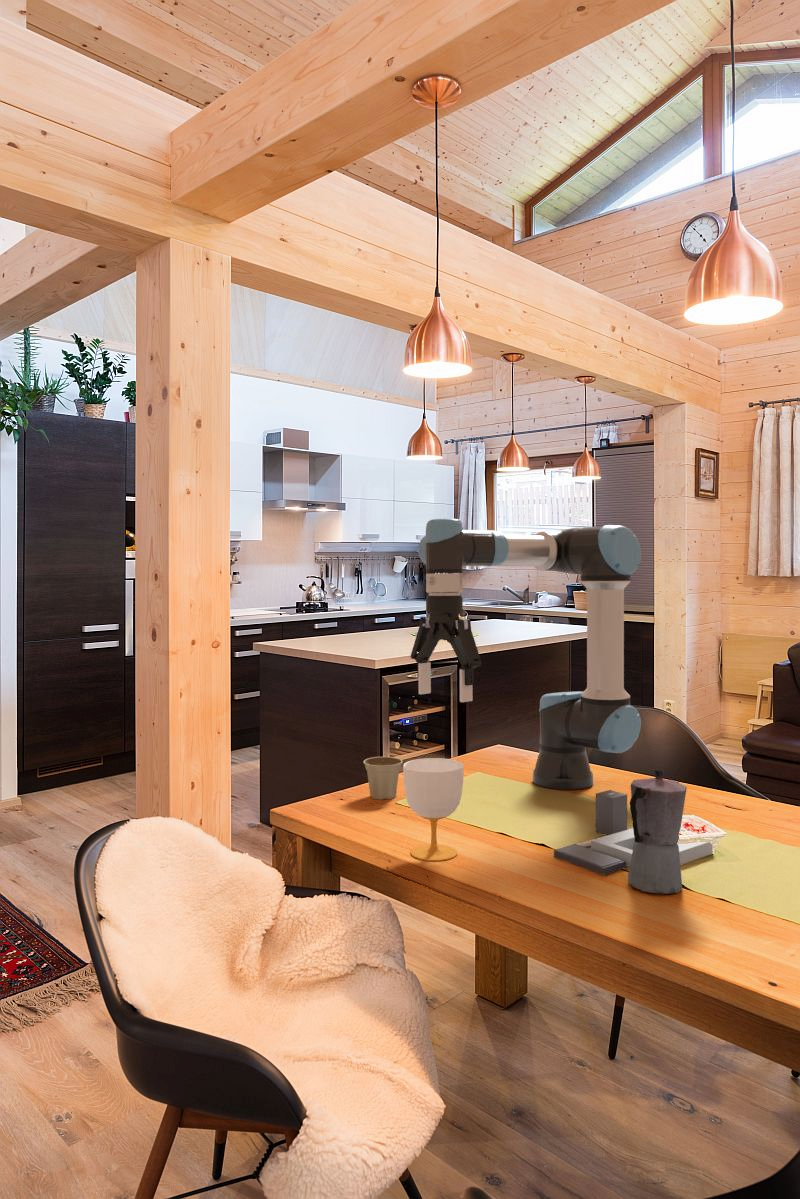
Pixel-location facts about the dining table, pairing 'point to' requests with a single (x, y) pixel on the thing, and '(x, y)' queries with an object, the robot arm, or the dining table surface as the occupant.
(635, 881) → the moka pot
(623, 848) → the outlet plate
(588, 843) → the cable
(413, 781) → the cup
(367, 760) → the flower pot
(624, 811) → the charger block
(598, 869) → the phone
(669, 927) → the dining table surface
